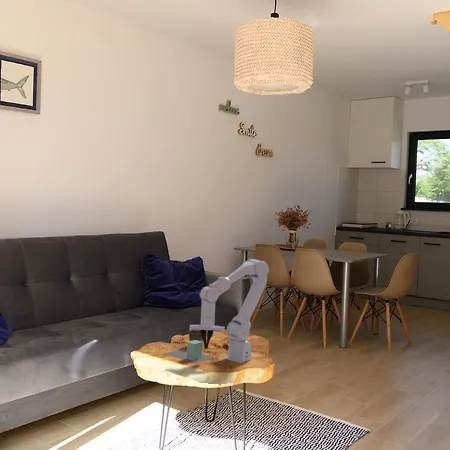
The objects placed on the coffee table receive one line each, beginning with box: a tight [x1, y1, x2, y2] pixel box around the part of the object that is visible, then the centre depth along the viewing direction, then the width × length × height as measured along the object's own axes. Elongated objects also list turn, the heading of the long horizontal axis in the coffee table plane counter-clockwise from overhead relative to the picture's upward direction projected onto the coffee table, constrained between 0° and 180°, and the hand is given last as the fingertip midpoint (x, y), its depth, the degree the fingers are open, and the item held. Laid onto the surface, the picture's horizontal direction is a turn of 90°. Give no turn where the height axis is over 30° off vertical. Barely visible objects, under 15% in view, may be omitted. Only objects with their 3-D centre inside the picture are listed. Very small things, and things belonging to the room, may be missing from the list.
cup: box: [188, 329, 203, 343], centre depth 250 cm, size 8×7×8 cm
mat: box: [164, 348, 214, 364], centre depth 235 cm, size 18×12×1 cm, turn 50°
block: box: [186, 340, 203, 360], centre depth 231 cm, size 4×5×7 cm
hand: (206, 348), depth 227 cm, fingers closed
